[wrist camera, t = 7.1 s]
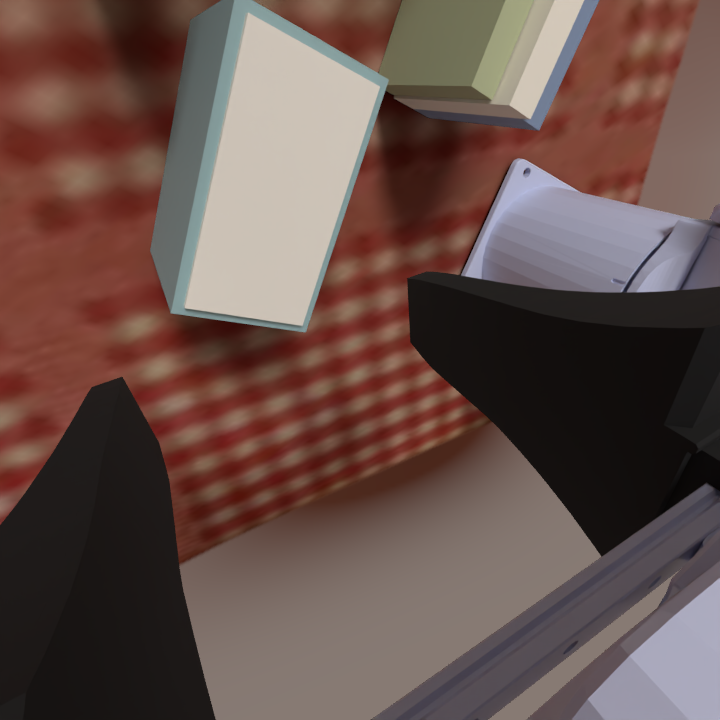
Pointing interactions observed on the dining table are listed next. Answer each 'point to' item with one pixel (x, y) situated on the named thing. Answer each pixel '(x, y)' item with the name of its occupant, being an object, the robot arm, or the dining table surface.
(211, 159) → the boxed book
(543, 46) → the book row
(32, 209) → the dining table surface
